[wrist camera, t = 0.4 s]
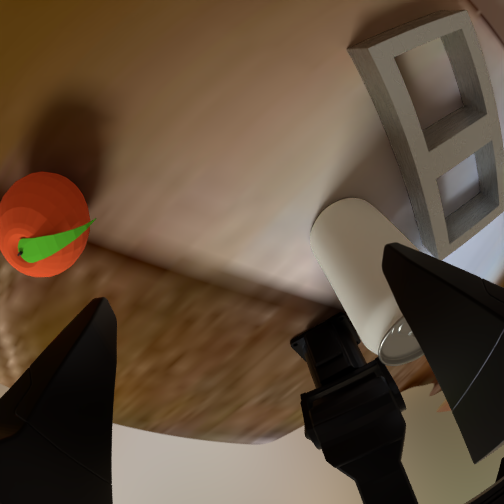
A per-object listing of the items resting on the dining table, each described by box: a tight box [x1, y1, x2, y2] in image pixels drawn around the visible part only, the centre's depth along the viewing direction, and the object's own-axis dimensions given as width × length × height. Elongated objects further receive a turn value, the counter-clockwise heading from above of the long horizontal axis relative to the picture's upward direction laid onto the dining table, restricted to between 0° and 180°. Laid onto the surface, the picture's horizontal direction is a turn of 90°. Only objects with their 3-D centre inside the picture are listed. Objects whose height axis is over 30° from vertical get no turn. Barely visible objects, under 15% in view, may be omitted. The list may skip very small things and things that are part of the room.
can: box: [310, 198, 424, 366], centre depth 21 cm, size 6×6×12 cm
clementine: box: [0, 171, 96, 277], centre depth 17 cm, size 8×7×7 cm
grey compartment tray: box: [347, 10, 504, 260], centre depth 21 cm, size 20×10×3 cm, turn 32°
